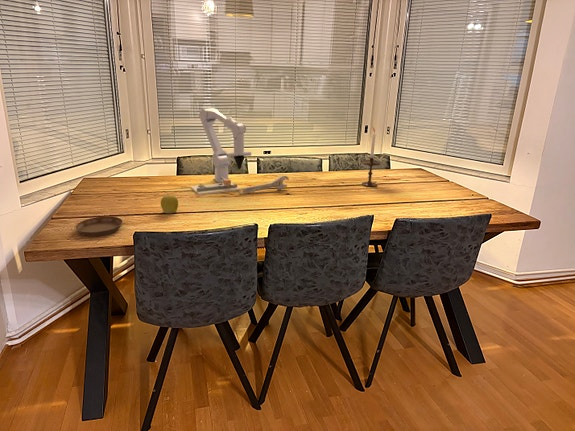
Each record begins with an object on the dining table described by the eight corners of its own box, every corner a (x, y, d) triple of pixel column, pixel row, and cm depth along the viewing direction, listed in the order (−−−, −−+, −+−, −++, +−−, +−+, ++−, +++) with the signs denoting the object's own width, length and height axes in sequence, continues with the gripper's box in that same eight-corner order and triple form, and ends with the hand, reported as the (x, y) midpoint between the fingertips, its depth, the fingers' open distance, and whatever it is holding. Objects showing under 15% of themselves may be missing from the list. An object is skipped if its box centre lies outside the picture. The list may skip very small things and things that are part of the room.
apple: (171, 214, 183) (165, 193, 181) (160, 215, 187) (154, 195, 186) (184, 209, 189) (178, 189, 188) (173, 211, 194) (167, 191, 192)
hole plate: (190, 187, 230) (190, 186, 229) (230, 183, 240) (230, 181, 240) (198, 195, 216) (198, 193, 216) (240, 190, 227) (240, 188, 227)
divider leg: (219, 183, 234) (218, 176, 233) (224, 183, 236) (223, 175, 234) (225, 188, 225) (225, 180, 223) (231, 187, 226) (230, 180, 225)
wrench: (239, 198, 222) (288, 187, 233) (240, 199, 221) (290, 188, 232) (237, 184, 220) (287, 174, 230) (238, 185, 218) (288, 175, 229)
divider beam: (192, 188, 228) (192, 184, 227) (230, 184, 238) (230, 180, 237) (197, 193, 219) (197, 189, 218) (237, 189, 230) (237, 184, 229)
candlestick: (358, 186, 242) (363, 127, 231) (362, 182, 252) (367, 125, 240) (376, 188, 238) (382, 128, 227) (379, 184, 248) (385, 126, 236)
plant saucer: (87, 242, 154) (86, 234, 153) (69, 230, 165) (68, 223, 164) (131, 230, 167) (130, 223, 166) (111, 220, 178) (110, 213, 177)
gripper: (229, 147, 224) (229, 171, 228) (253, 145, 230) (253, 168, 235) (224, 145, 230) (225, 168, 234) (248, 143, 236) (248, 166, 241)
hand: (239, 168), depth 235 cm, fingers closed
